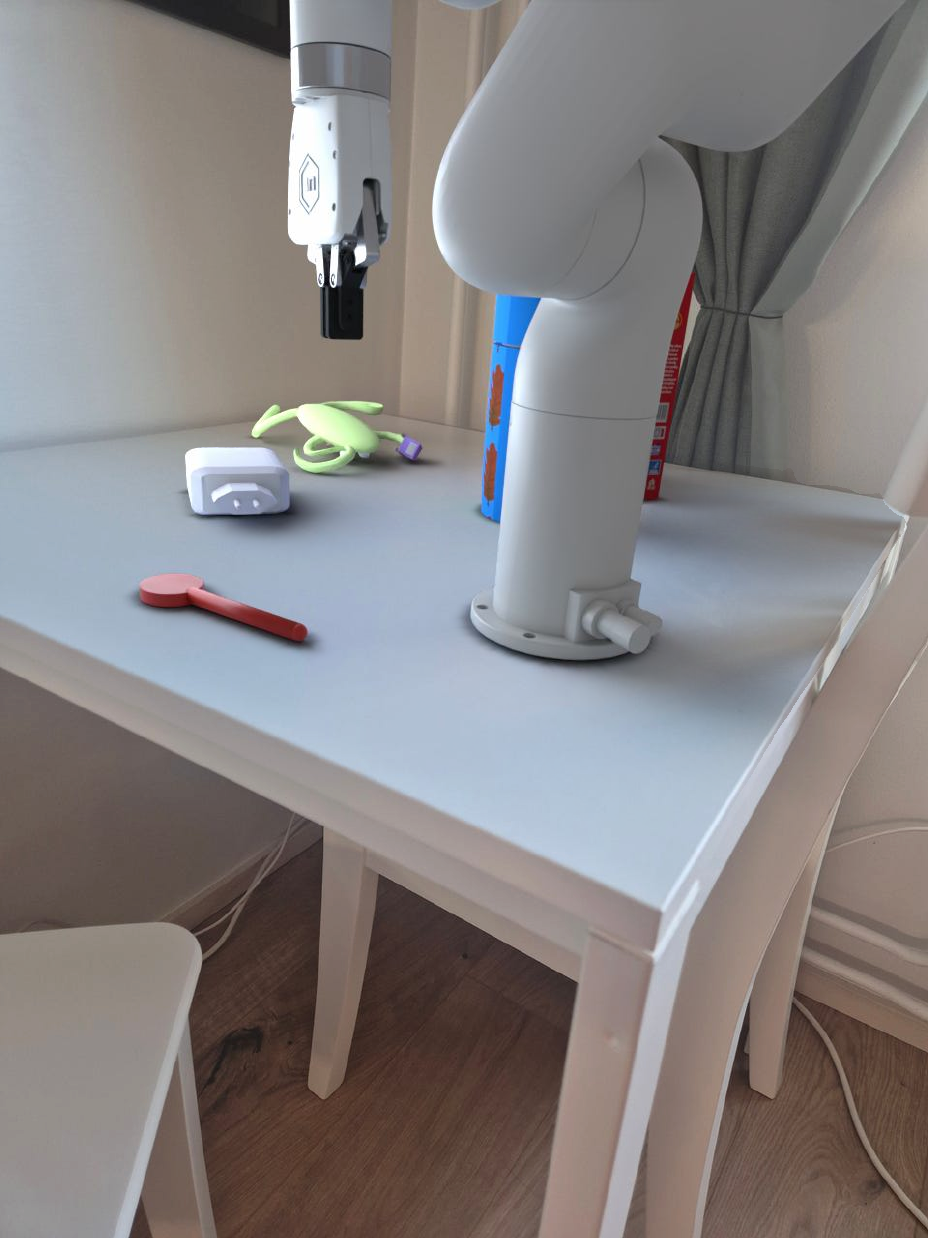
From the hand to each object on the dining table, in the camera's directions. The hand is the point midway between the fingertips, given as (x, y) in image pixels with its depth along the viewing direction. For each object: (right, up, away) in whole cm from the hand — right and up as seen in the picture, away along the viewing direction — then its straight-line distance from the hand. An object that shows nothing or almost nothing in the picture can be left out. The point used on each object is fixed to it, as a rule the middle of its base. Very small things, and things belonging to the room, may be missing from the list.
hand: (341, 338), depth 70 cm
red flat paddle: (-7, -23, -12) cm, 27 cm away
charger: (-12, -13, +12) cm, 21 cm away
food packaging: (+28, -7, +34) cm, 45 cm away
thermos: (+17, -13, +18) cm, 28 cm away
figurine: (-7, -1, +42) cm, 42 cm away
